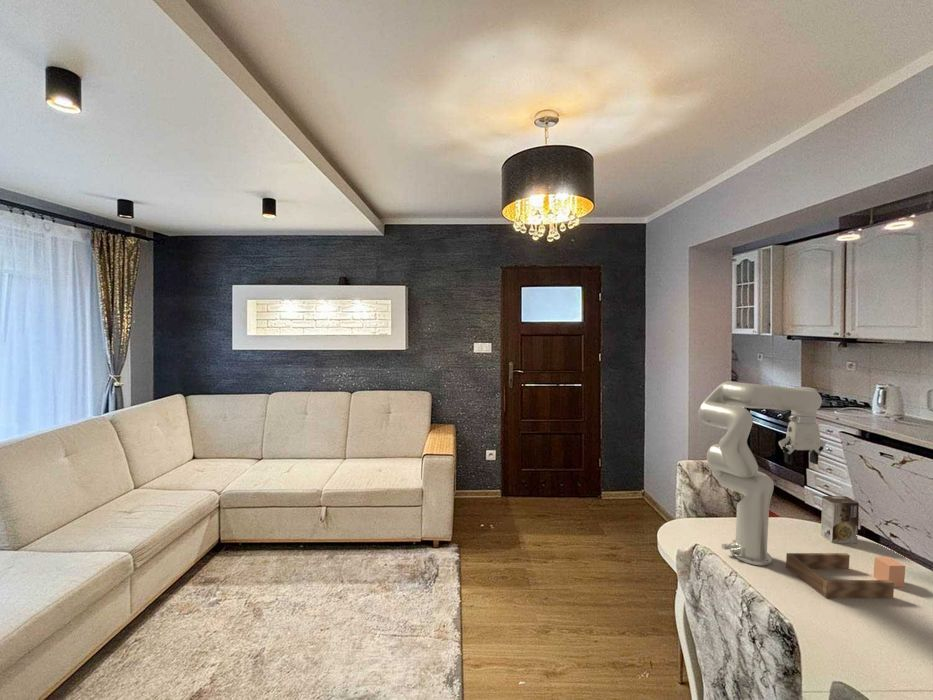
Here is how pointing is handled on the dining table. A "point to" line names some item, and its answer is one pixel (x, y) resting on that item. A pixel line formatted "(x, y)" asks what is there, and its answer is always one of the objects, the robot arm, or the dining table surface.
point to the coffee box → (839, 519)
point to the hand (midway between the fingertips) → (801, 463)
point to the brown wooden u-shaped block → (835, 588)
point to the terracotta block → (889, 570)
